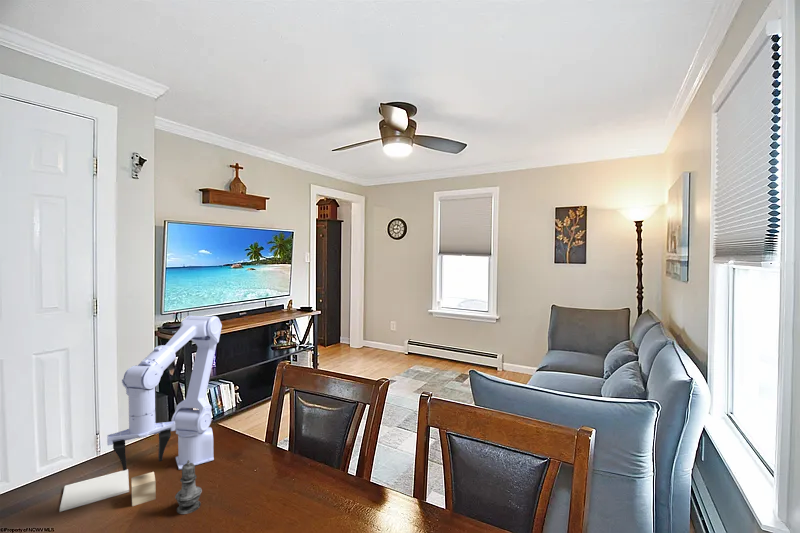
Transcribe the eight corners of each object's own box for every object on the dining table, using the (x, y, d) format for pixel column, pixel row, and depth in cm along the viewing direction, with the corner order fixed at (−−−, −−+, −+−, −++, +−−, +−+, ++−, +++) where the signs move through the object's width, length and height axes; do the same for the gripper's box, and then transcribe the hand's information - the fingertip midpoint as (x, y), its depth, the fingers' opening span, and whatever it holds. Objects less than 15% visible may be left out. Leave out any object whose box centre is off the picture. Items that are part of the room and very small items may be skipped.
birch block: (154, 489, 105) (153, 471, 105) (155, 499, 101) (155, 480, 101) (131, 496, 102) (131, 477, 102) (132, 506, 98) (131, 487, 98)
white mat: (128, 471, 114) (128, 469, 114) (129, 491, 104) (129, 489, 104) (64, 487, 106) (64, 485, 106) (59, 511, 96) (59, 509, 96)
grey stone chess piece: (190, 516, 95) (190, 467, 94) (169, 513, 96) (169, 464, 95) (207, 501, 100) (206, 455, 100) (187, 498, 102) (186, 452, 101)
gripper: (106, 424, 94) (107, 480, 94) (176, 410, 102) (176, 462, 102) (107, 414, 99) (108, 467, 100) (173, 402, 108) (173, 451, 108)
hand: (142, 464), depth 101 cm, fingers open, 7 cm apart
